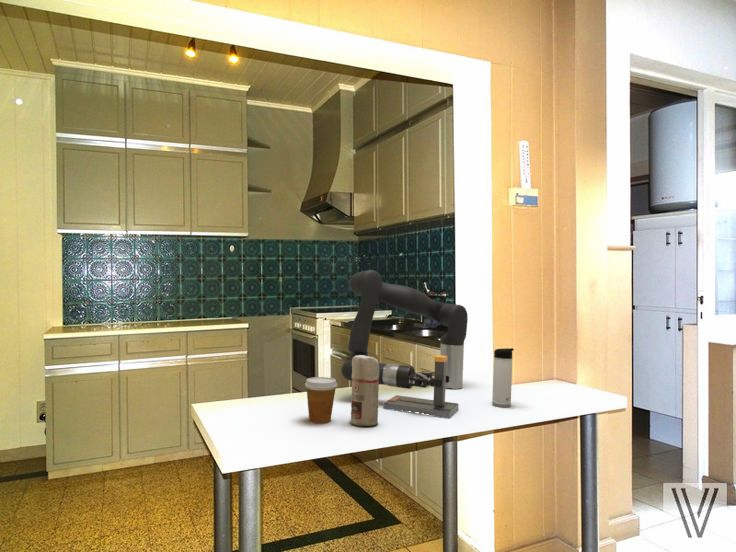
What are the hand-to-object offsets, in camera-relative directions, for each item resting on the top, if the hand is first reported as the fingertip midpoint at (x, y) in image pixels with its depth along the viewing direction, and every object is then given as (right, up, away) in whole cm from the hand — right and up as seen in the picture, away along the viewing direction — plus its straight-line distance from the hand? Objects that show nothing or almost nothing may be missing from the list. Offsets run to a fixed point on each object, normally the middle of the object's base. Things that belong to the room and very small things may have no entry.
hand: (445, 381), depth 159 cm
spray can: (-26, -9, -15) cm, 32 cm away
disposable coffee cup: (-39, -9, -14) cm, 43 cm away
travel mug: (+21, -11, +12) cm, 27 cm away
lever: (-2, -7, +1) cm, 8 cm away
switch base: (-8, -10, +3) cm, 13 cm away
